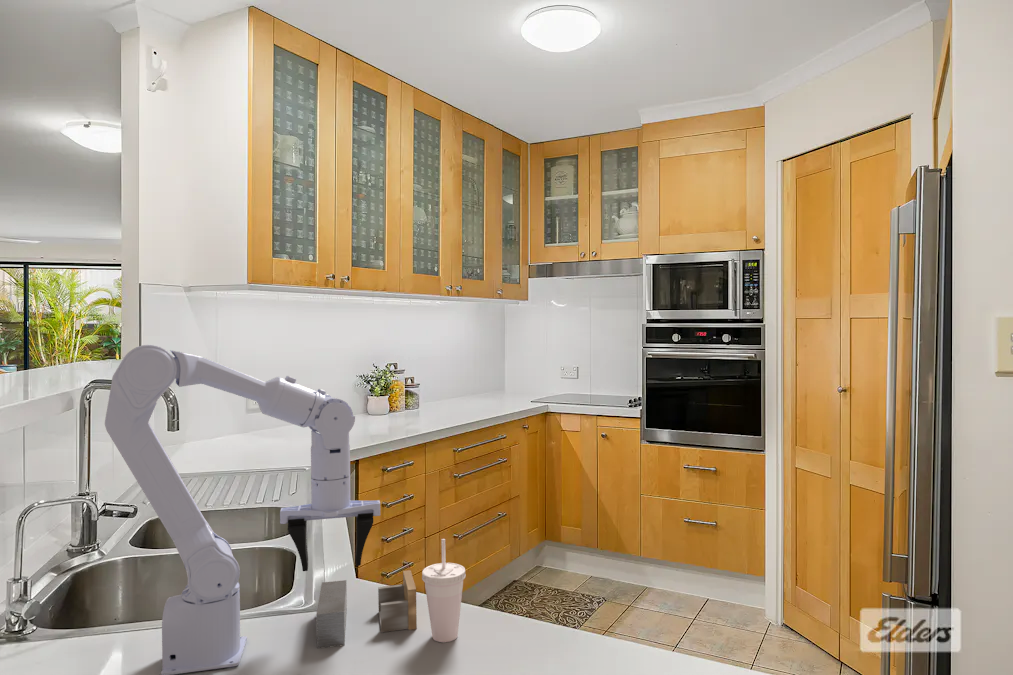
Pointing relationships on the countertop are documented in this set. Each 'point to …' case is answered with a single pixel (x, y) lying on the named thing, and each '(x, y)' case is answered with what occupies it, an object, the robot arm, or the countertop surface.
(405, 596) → the bracket
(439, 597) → the smoothie
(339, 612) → the grey rectangular block
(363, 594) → the countertop surface
